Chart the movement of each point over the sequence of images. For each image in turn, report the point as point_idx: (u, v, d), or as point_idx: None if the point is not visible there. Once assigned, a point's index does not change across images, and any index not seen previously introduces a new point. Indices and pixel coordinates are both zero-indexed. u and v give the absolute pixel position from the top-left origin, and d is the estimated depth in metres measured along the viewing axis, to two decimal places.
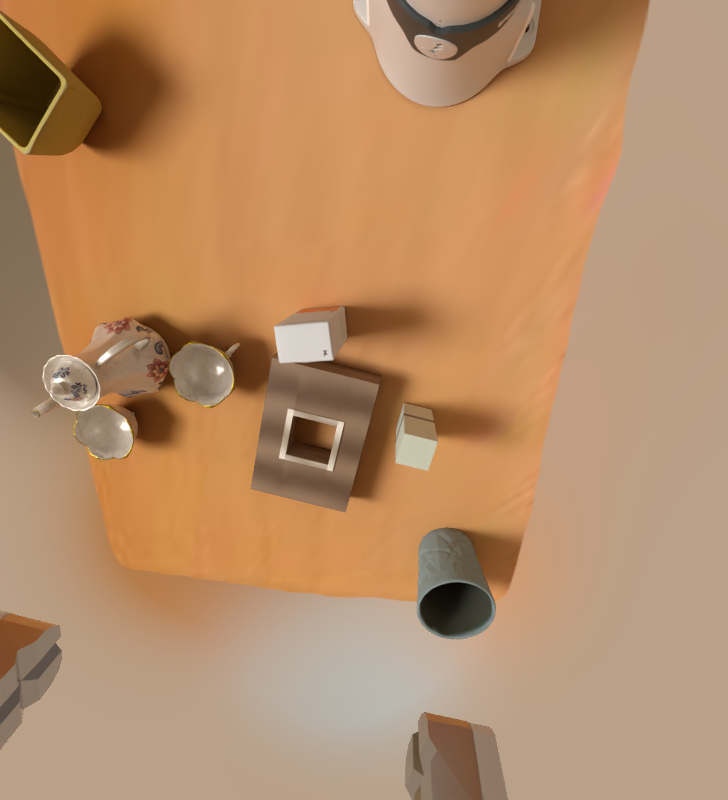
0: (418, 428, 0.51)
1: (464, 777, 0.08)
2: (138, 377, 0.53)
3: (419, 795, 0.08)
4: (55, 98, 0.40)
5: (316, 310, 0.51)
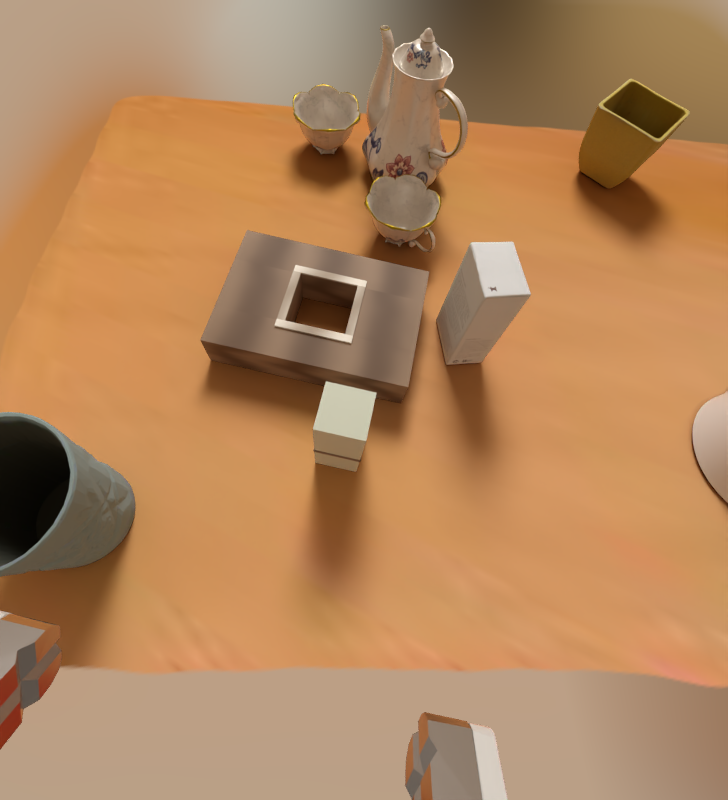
0: None
1: (464, 777, 0.08)
2: (400, 143, 0.49)
3: (419, 795, 0.08)
4: (645, 132, 0.50)
5: None
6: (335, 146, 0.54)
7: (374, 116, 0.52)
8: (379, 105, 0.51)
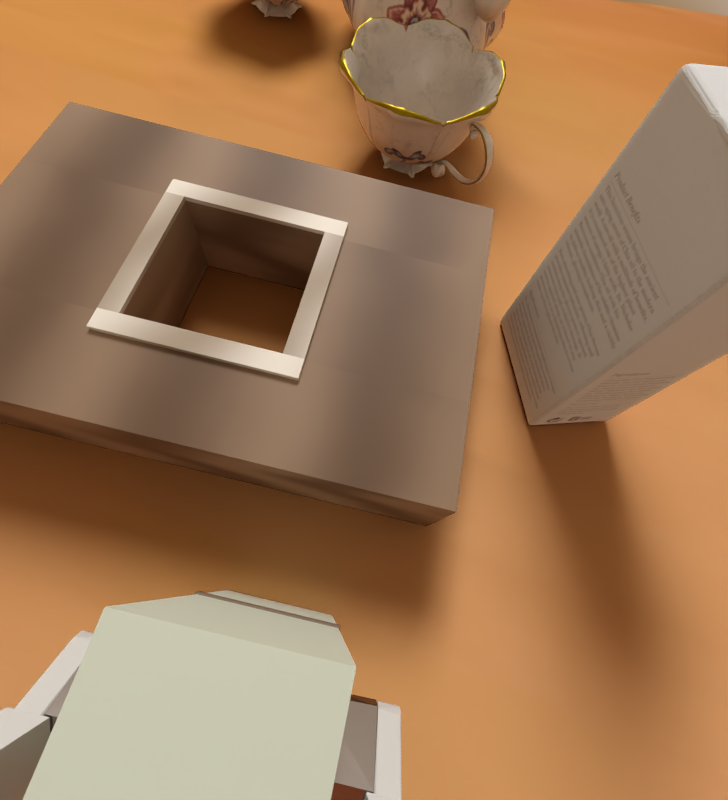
0: None
1: (360, 752, 0.08)
2: None
3: None
4: None
5: None
6: None
7: None
8: None
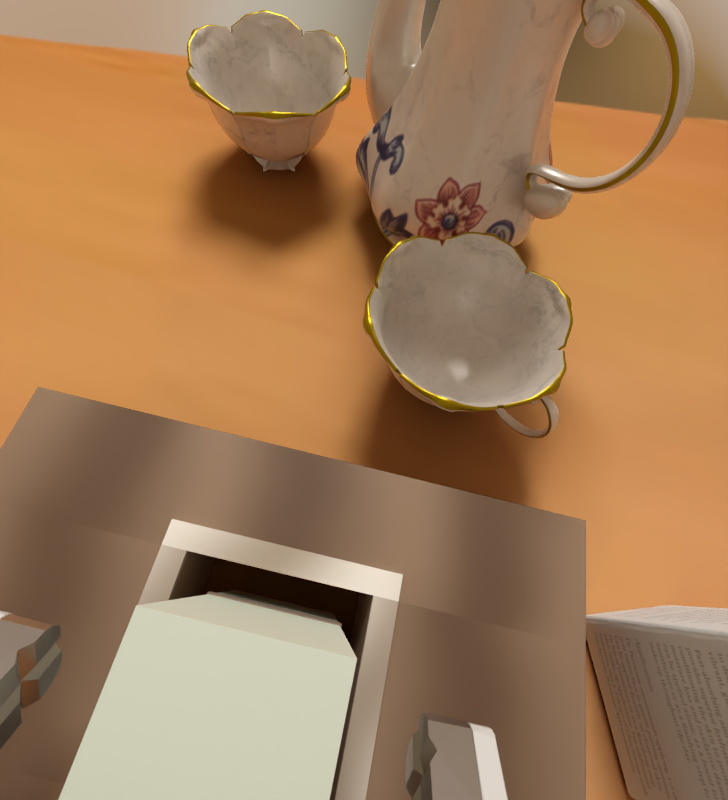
0: None
1: (464, 777, 0.08)
2: (456, 150, 0.19)
3: (419, 795, 0.08)
4: None
5: None
6: (294, 154, 0.23)
7: (385, 84, 0.22)
8: (397, 56, 0.21)
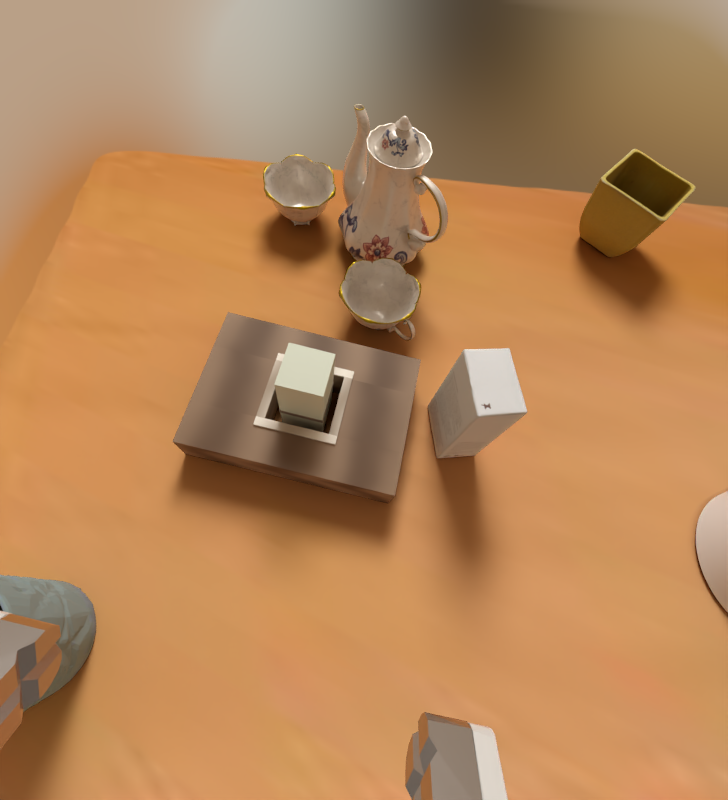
0: (329, 384, 0.36)
1: (464, 777, 0.08)
2: (377, 224, 0.46)
3: (419, 795, 0.08)
4: (649, 209, 0.47)
5: None
6: (309, 219, 0.51)
7: (351, 190, 0.49)
8: (355, 179, 0.48)
